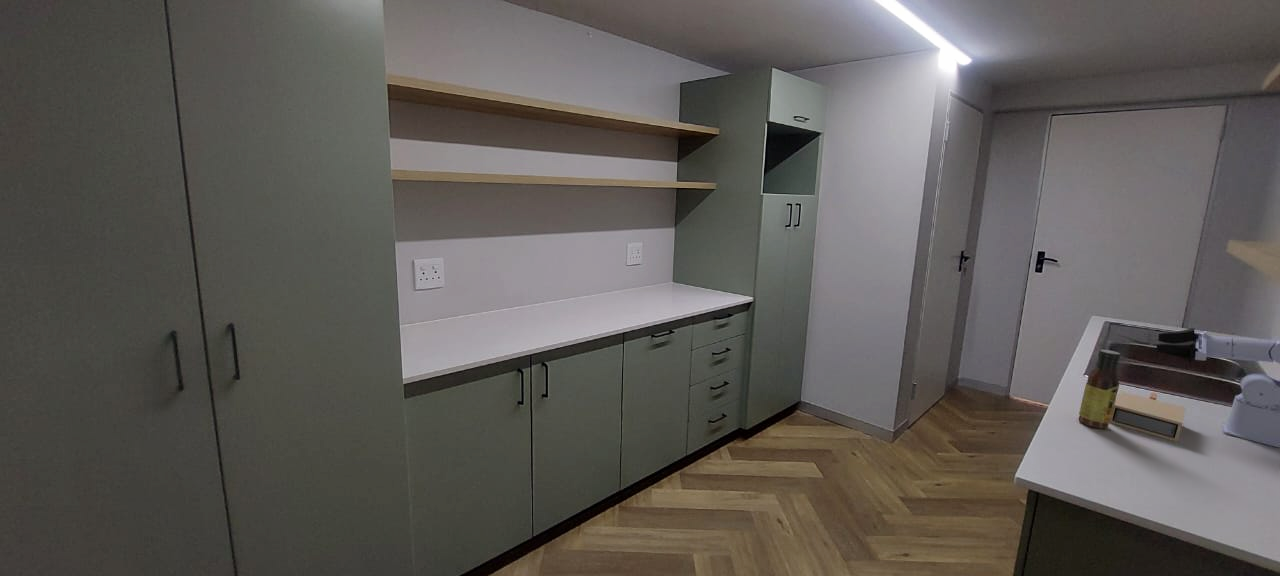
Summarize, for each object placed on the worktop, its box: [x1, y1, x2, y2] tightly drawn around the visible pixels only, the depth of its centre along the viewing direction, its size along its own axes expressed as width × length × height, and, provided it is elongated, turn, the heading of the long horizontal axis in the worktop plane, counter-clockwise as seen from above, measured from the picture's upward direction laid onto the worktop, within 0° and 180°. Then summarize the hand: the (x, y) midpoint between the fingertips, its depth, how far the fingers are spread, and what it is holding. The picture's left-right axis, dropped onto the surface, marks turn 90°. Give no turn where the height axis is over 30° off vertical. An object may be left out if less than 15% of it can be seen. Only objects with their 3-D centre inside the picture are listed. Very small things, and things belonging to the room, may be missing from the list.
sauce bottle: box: [1078, 349, 1121, 429], centre depth 135 cm, size 7×6×20 cm
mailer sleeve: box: [1109, 391, 1187, 443], centre depth 138 cm, size 15×13×5 cm
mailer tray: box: [1114, 392, 1176, 437], centre depth 140 cm, size 20×11×4 cm, turn 132°
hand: (1157, 342), depth 145 cm, fingers open, 7 cm apart
